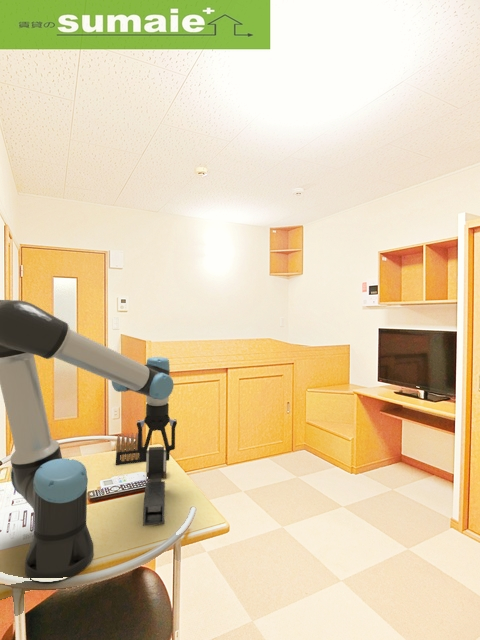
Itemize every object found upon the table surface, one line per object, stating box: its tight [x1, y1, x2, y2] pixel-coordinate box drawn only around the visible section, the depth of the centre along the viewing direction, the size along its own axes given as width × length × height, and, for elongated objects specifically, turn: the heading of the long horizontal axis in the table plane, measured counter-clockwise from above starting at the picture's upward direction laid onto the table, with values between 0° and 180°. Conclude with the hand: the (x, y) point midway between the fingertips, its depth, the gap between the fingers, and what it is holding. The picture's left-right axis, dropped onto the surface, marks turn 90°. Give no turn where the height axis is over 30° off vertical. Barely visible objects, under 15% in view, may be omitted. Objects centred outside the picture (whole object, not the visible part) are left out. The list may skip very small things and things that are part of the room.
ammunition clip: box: [115, 432, 144, 466], centre depth 149 cm, size 11×2×12 cm, turn 111°
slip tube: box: [147, 446, 165, 512], centre depth 122 cm, size 22×5×14 cm, turn 11°
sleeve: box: [142, 480, 166, 527], centre depth 114 cm, size 14×6×6 cm, turn 11°
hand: (156, 469), depth 126 cm, fingers closed on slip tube, 5 cm apart
